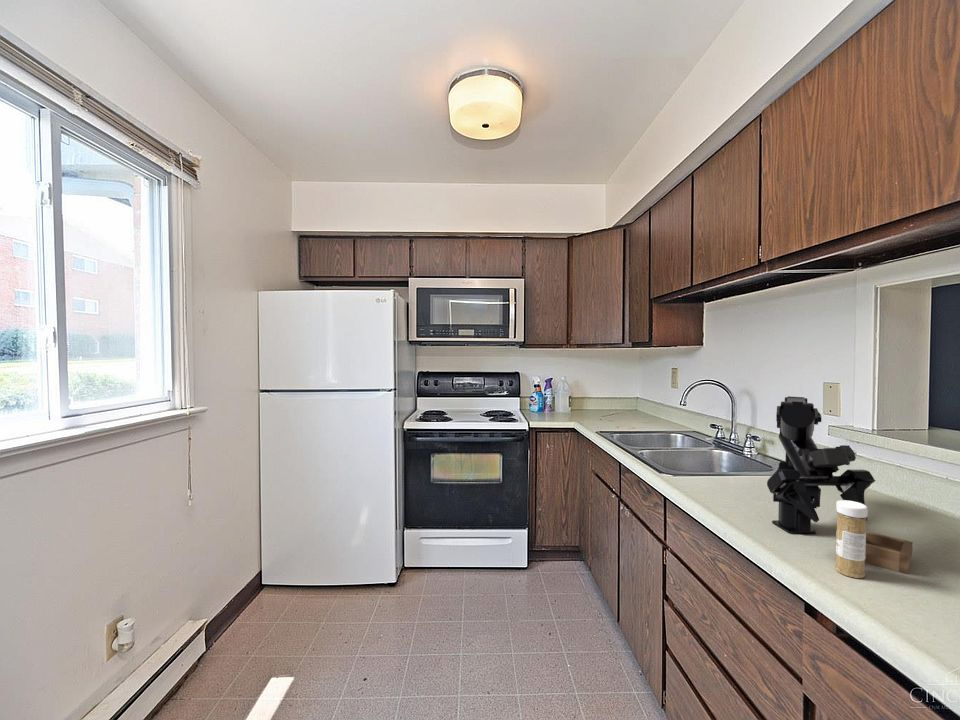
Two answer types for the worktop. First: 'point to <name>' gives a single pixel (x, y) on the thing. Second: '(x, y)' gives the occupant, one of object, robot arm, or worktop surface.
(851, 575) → the sprinkles bottle
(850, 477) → the robot arm
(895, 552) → the walnut collar
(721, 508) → the worktop surface
